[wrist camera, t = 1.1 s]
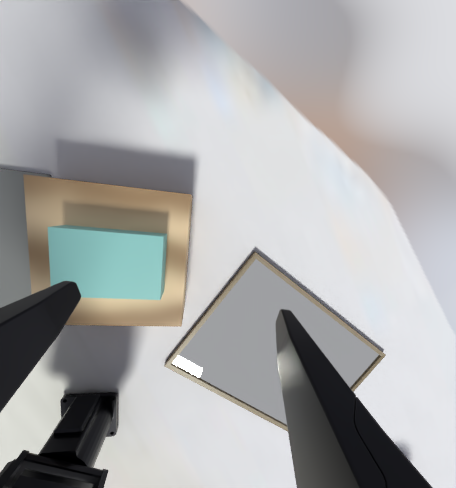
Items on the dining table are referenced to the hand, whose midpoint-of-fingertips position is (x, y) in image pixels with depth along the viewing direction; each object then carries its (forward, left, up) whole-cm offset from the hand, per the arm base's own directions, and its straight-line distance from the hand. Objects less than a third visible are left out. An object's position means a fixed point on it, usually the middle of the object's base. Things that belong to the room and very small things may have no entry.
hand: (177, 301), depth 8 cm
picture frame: (-16, -15, -16) cm, 27 cm away
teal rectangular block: (-2, +7, -11) cm, 13 cm away
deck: (-2, +7, -15) cm, 17 cm away
